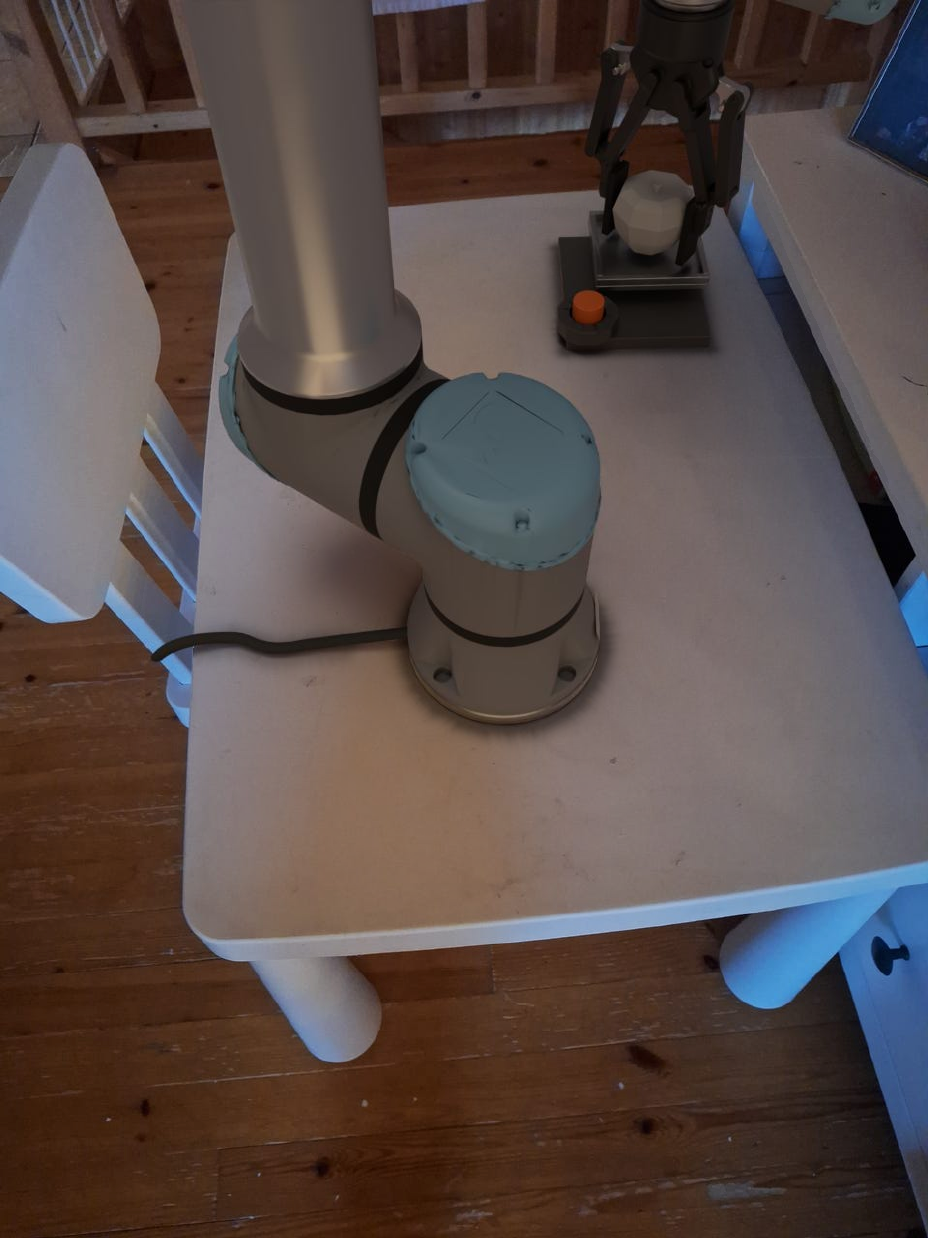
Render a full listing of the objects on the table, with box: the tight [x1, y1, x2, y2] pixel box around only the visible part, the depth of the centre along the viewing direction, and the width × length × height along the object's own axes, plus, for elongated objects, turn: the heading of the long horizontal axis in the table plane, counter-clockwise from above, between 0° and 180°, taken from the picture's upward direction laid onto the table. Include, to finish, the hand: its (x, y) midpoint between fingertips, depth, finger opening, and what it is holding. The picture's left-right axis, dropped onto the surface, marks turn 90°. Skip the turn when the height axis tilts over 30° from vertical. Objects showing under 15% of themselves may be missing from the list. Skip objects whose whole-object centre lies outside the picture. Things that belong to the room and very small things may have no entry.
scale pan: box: [587, 210, 711, 291], centre depth 92 cm, size 11×11×1 cm
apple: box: [613, 169, 694, 255], centre depth 88 cm, size 8×8×7 cm
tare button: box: [572, 290, 605, 325], centre depth 87 cm, size 3×3×2 cm
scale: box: [555, 236, 712, 351], centre depth 92 cm, size 15×17×3 cm
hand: (647, 242), depth 91 cm, fingers closed on apple, 8 cm apart
